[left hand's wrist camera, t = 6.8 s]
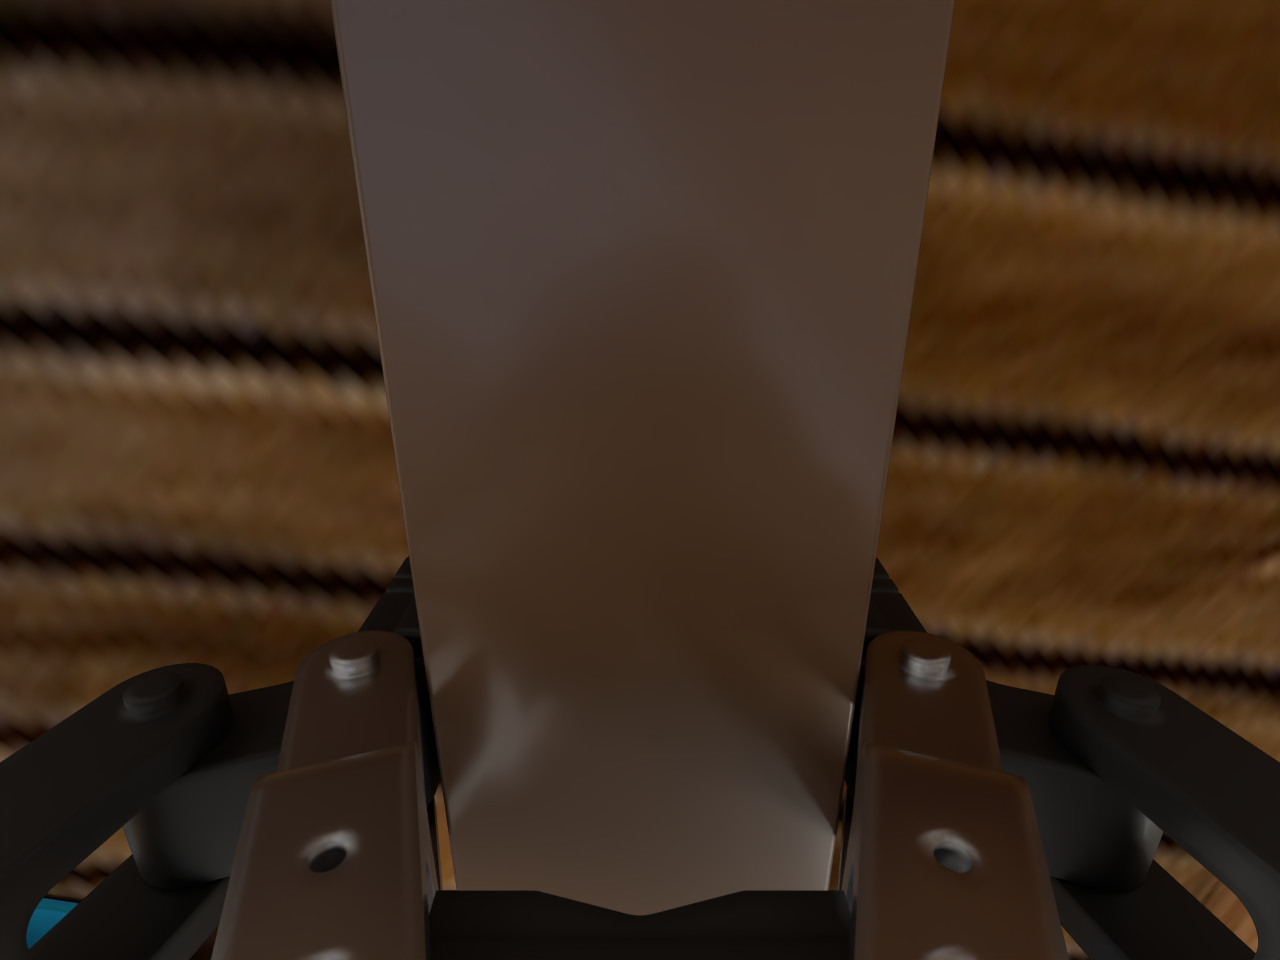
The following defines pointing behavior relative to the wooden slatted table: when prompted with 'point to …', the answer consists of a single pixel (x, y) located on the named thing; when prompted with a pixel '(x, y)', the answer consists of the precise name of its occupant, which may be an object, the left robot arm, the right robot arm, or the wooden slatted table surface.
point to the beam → (642, 410)
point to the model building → (46, 918)
